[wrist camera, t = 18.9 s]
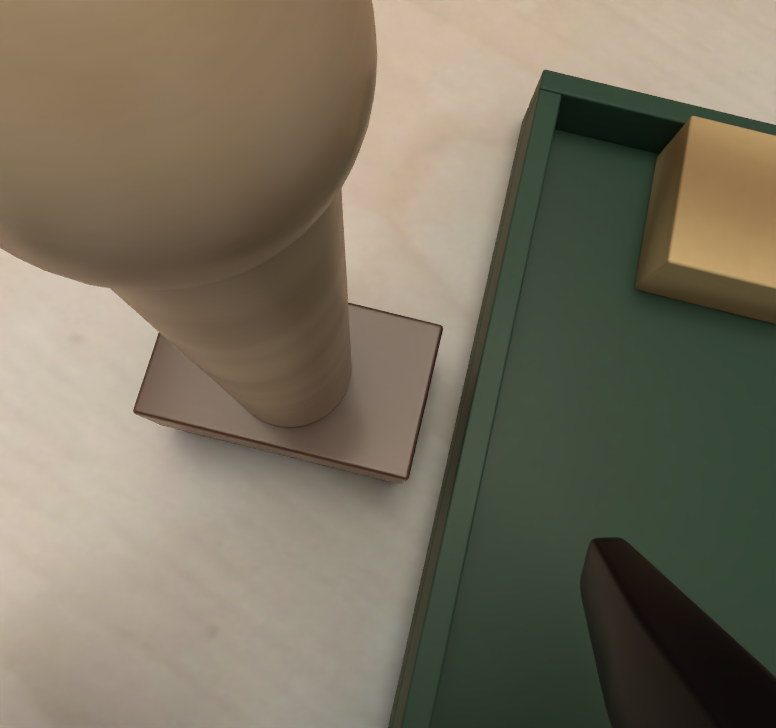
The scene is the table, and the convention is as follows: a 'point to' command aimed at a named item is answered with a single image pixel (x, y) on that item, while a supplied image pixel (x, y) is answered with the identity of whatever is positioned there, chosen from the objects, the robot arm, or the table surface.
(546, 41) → the table surface
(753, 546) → the tray
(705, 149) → the golden tan square block
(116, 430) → the table surface
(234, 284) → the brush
